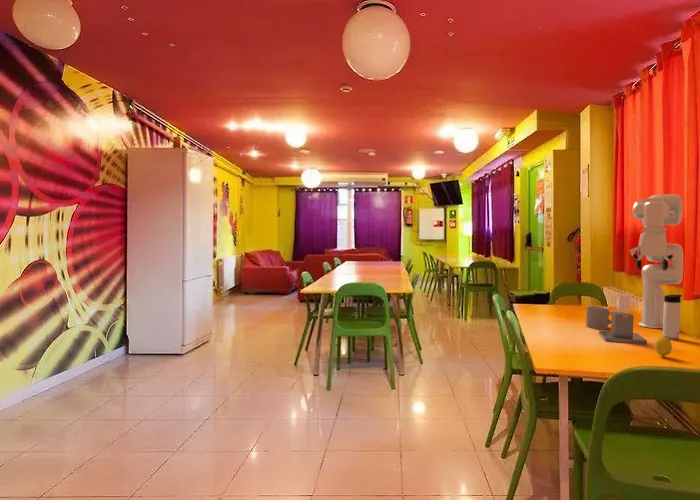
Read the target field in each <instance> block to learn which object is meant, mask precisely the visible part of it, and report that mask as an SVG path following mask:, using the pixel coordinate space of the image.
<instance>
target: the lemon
mask: <svg viewBox="0 0 700 500" xmlns="http://www.w3.org/2000/svg"><path fill="white" fill-rule="evenodd" d="M654 349H655V352H656V353H657V354H658V355H660V356H661V357H663V358H664V357H666V356H668V355H670V354H671V352H672V349H673V345H672V342H671V340H670V339H668V338H666V337H664V336H663V335H662V336H661V337H659V338H657V339H656V340H655V343H654Z"/></svg>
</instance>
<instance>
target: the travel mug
mask: <svg viewBox="0 0 700 500" xmlns="http://www.w3.org/2000/svg"><path fill="white" fill-rule="evenodd" d="M681 297H683V296H682V294H665V297H664V299H665V300H664V316H663V328H662V337H663V336H664V337H666V338H668V339H669V340H670V341H671V340H672V341H676V340H677V341H678V340H680V328H681V327H680V323H681V306H682V305H681V303H682V302H681Z"/></svg>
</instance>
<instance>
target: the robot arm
mask: <svg viewBox="0 0 700 500" xmlns="http://www.w3.org/2000/svg"><path fill="white" fill-rule="evenodd" d="M631 212H632V216H633V218H634V219H636V220H641V224H642V227H643V228H642V233H640V235H639V240H638V246H636V247H634V248H632V249H630V250H629V252H630V254H631V256H632V257H633V258H634V259H635V261H636V265H635V266H636V269H637V270H641V279H642V306H641V307H642V308H641V309H642V310H641V311H642V312H641V321H638V326H639V327H643V328H649V329H663V316H664V300H665V299H664V297H665V296H666V293H665V291H664V289H663V288H662V287H661V284H663V285H679V284H681V283H682V282H683V276H684V250H683V246H682V245H681V244H679V243H667V234H666V231H668V227H665V226H677V225H680V223H681V222H682V220H683V199H682V197H681V195H679V194H676V193H674V194H673V193H671V194H670V193H669V194H668V193H667V194H664V193H663V194H654V195H651V196H650V197H647V198H645V199H639V200H637V201H635V202H634V203H633V206H632V210H631ZM636 252H637V253H636ZM644 257H645V258H646V260H647V261H648V262H653V264H651V263H650V264H646V265H644V266H643V265H642V259H643V258H644ZM654 263H662V264H654ZM642 266H643V267H642Z"/></svg>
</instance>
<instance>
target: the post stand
mask: <svg viewBox="0 0 700 500" xmlns="http://www.w3.org/2000/svg"><path fill="white" fill-rule="evenodd" d="M634 316H635V315H634V314H632V313H631V312H629V315H627V314H617V311H612V314H611V320H612V324H610V325H611V327H610V328H611V329H610V330H609V331H608V330H598V335H599V336H600V337H601V338H602V339H603V340H604V341H605V342H608V343H610V342H612V343H624V344H635V345H636V344H638V345H647V344H648V340H647V339H645V338H644V337H643V336H642V335H640V334H639V333H638V332H637V333H636V332H634Z"/></svg>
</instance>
